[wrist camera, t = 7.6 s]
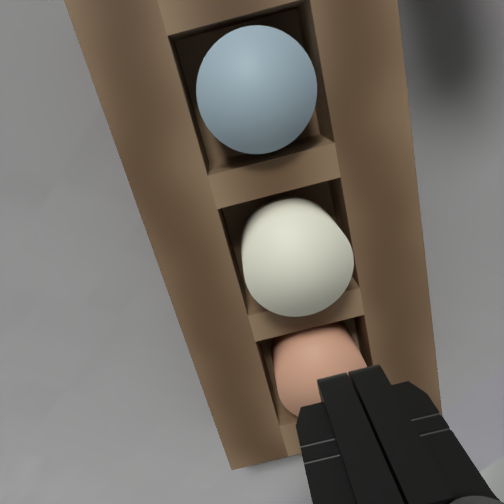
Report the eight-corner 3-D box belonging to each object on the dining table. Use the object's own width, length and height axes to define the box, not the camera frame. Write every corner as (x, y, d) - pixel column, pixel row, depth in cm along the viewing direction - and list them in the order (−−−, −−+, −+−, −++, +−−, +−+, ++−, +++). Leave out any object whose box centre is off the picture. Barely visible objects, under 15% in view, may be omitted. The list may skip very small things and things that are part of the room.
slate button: (291, 20, 19) (304, 10, 16) (312, 129, 21) (326, 137, 18) (186, 48, 19) (180, 43, 16) (215, 154, 21) (214, 166, 18)
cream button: (327, 184, 20) (344, 201, 18) (343, 273, 22) (361, 302, 19) (229, 209, 21) (230, 231, 18) (253, 296, 22) (258, 327, 19)
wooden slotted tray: (358, -69, 19) (387, -98, 16) (416, 379, 28) (442, 419, 25) (87, 5, 19) (61, -9, 16) (230, 424, 28) (231, 470, 25)
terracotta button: (345, 304, 24) (361, 334, 21) (358, 372, 26) (375, 408, 23) (262, 325, 24) (267, 357, 21) (280, 391, 26) (288, 429, 23)
